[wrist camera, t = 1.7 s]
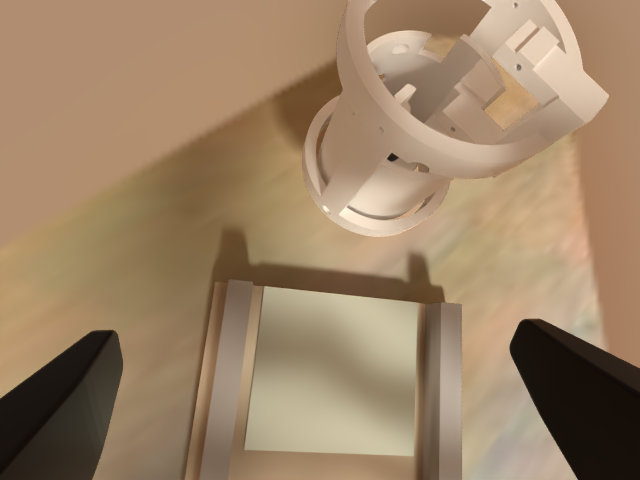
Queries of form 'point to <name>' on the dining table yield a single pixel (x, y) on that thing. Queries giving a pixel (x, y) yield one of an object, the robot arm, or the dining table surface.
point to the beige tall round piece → (439, 112)
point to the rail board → (327, 388)
